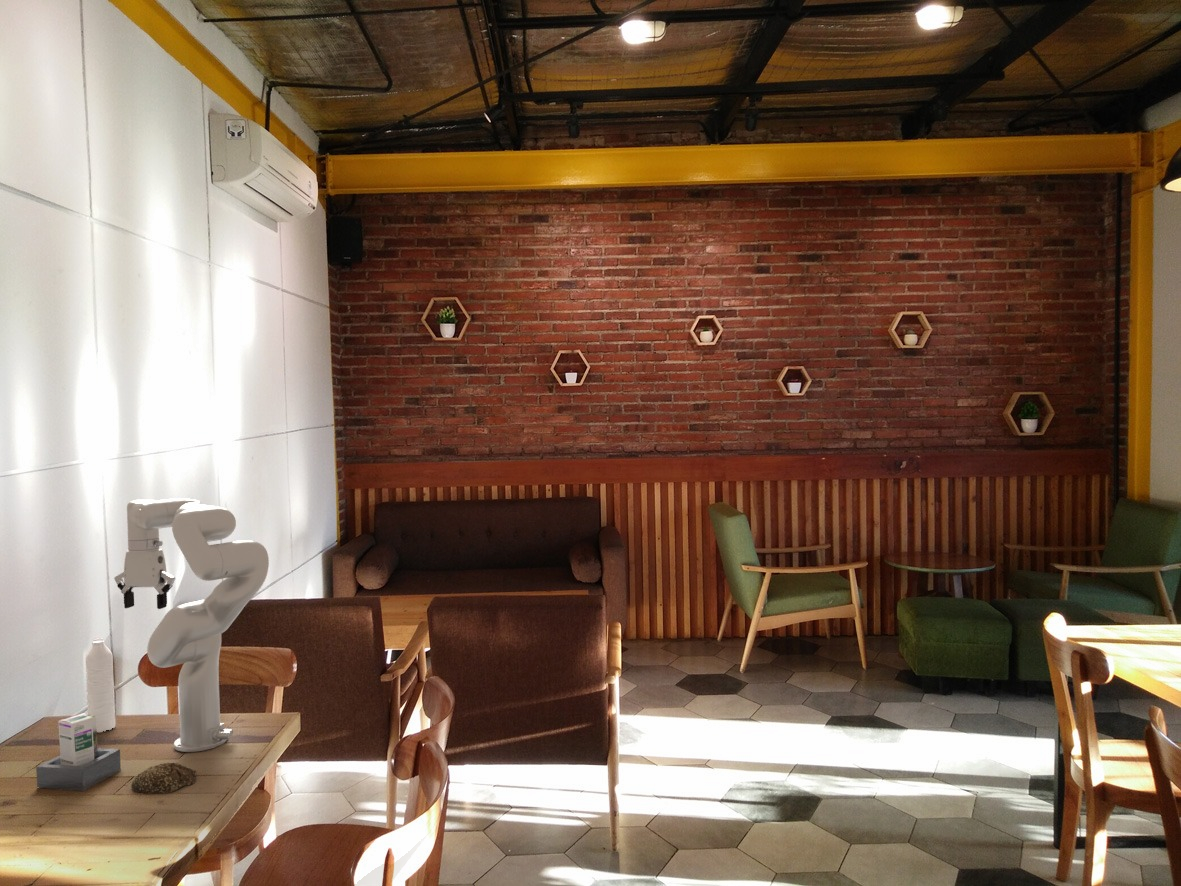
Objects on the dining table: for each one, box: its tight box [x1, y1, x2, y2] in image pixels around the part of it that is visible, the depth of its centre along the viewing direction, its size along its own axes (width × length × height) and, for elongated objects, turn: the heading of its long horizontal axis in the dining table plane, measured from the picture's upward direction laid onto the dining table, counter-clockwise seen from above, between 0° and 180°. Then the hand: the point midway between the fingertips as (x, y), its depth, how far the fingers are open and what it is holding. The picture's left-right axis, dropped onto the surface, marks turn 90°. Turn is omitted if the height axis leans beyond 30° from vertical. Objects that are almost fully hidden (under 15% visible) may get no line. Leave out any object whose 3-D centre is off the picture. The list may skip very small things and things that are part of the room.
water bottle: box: [85, 637, 116, 733], centre depth 236 cm, size 9×6×25 cm
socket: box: [35, 747, 122, 792], centre depth 204 cm, size 12×12×5 cm
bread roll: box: [130, 762, 197, 795], centre depth 200 cm, size 13×12×5 cm
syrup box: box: [58, 712, 99, 766], centre depth 204 cm, size 6×6×14 cm
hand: (145, 607), depth 237 cm, fingers open, 9 cm apart
